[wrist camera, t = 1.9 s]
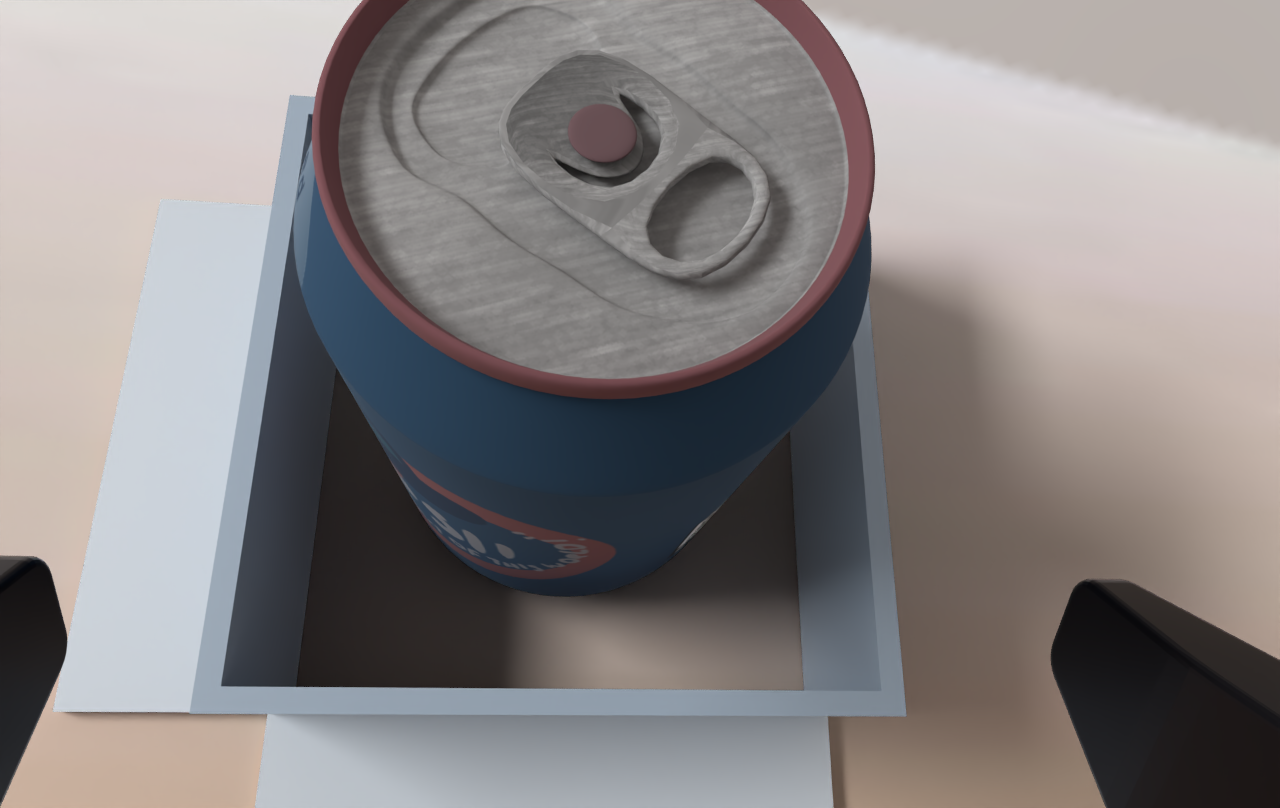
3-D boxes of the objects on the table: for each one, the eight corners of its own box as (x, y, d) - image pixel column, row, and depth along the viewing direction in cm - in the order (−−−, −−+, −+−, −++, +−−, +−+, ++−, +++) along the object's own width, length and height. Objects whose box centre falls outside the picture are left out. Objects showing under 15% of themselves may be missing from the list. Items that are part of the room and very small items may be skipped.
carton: (836, 927, 18) (931, 996, 13) (11, 946, 16) (-178, 1031, 12) (794, 244, 23) (854, 137, 18) (165, 205, 21) (72, 78, 17)
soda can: (343, 468, 19) (80, 137, 8) (547, 259, 22) (560, -227, 10) (586, 671, 19) (665, 617, 7) (771, 432, 21) (1050, 108, 10)
